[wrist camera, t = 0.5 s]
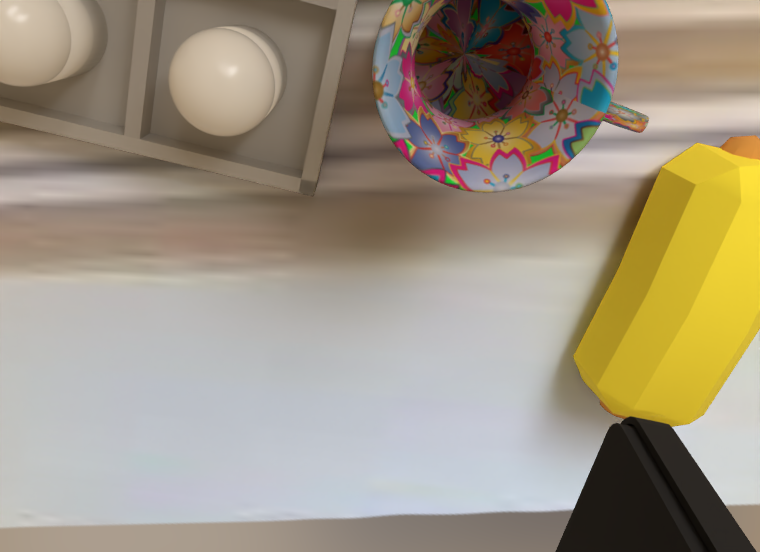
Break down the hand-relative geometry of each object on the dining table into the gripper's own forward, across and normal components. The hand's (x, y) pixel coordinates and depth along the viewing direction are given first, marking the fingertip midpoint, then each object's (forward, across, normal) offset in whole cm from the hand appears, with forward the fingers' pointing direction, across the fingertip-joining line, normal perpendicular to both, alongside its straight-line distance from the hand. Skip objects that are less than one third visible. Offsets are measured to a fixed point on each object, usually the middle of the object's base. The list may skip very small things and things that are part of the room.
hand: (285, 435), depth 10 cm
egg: (+28, +6, -1) cm, 29 cm away
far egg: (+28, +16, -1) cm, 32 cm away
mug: (+29, -6, -4) cm, 30 cm away
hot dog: (+29, -20, +5) cm, 36 cm away
